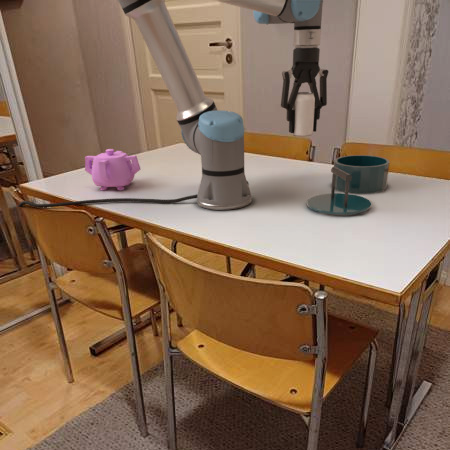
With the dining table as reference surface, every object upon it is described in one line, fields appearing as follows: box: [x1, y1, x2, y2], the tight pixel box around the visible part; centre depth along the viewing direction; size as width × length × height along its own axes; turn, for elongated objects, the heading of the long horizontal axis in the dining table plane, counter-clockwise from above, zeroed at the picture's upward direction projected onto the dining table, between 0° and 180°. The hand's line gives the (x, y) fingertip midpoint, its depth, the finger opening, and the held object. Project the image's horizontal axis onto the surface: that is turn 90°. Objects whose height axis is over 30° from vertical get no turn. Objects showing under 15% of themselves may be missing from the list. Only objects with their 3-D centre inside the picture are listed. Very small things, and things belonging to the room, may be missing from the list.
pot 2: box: [333, 154, 391, 194], centre depth 138 cm, size 16×16×8 cm
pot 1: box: [84, 148, 141, 191], centre depth 147 cm, size 18×17×12 cm
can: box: [291, 91, 315, 138], centre depth 142 cm, size 6×6×12 cm
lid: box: [306, 166, 372, 216], centre depth 122 cm, size 17×17×10 cm
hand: (302, 131), depth 144 cm, fingers closed on can, 6 cm apart
